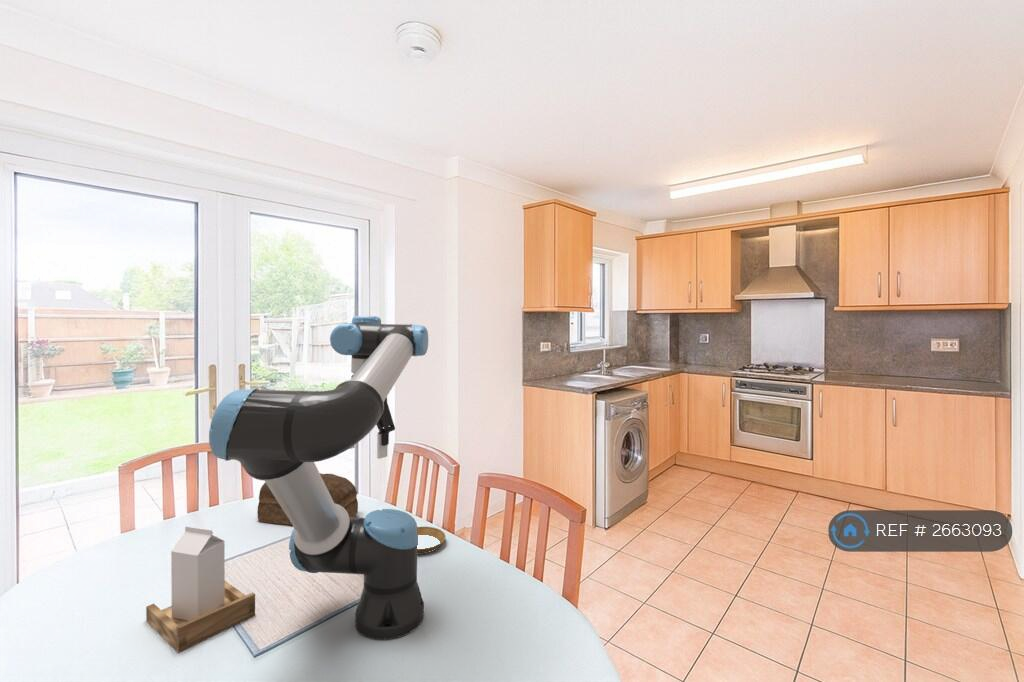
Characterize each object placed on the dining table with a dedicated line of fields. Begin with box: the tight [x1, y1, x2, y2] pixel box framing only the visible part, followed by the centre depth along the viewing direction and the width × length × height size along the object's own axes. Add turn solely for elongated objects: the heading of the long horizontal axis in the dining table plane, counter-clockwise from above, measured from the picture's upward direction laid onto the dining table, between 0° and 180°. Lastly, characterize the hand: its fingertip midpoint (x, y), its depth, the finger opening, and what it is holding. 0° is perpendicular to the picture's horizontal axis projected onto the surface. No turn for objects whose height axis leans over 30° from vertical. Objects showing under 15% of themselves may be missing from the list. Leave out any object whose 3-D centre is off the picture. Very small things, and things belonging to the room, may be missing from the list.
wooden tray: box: [145, 580, 256, 654], centre depth 105 cm, size 17×15×5 cm
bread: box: [257, 472, 359, 526], centre depth 159 cm, size 15×32×16 cm, turn 79°
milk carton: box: [170, 525, 226, 621], centre depth 105 cm, size 7×7×19 cm
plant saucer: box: [417, 526, 446, 554], centre depth 142 cm, size 15×15×3 cm
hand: (365, 453), depth 126 cm, fingers open, 13 cm apart
